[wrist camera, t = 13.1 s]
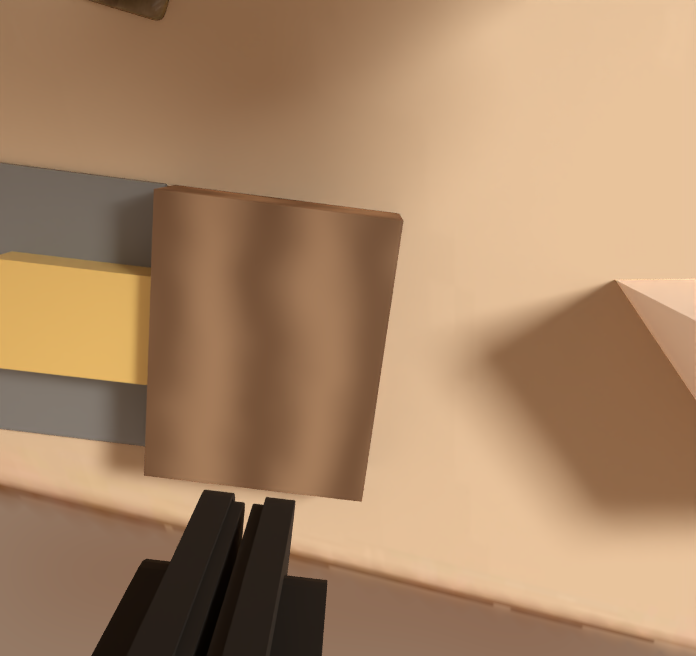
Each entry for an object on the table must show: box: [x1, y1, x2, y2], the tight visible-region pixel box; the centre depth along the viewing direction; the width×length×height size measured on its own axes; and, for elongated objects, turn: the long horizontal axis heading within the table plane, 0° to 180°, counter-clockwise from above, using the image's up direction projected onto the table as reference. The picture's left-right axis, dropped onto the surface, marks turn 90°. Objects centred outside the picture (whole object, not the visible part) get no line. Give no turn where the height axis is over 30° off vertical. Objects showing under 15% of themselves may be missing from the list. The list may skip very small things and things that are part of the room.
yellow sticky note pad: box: [0, 251, 151, 385], centre depth 39 cm, size 10×7×2 cm
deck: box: [144, 185, 403, 502], centre depth 38 cm, size 14×18×4 cm
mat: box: [0, 163, 167, 446], centre depth 40 cm, size 12×18×1 cm, turn 173°
